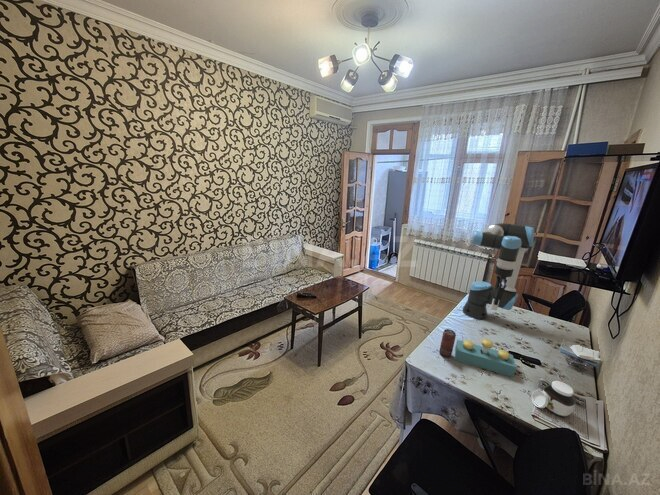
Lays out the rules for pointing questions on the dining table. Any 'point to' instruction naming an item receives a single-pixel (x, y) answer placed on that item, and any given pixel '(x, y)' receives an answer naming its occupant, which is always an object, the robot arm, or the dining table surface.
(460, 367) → the dining table surface
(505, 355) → the plunger
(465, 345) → the plunger
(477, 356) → the mount
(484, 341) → the plunger mid
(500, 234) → the robot arm
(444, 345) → the can
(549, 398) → the spread jar
